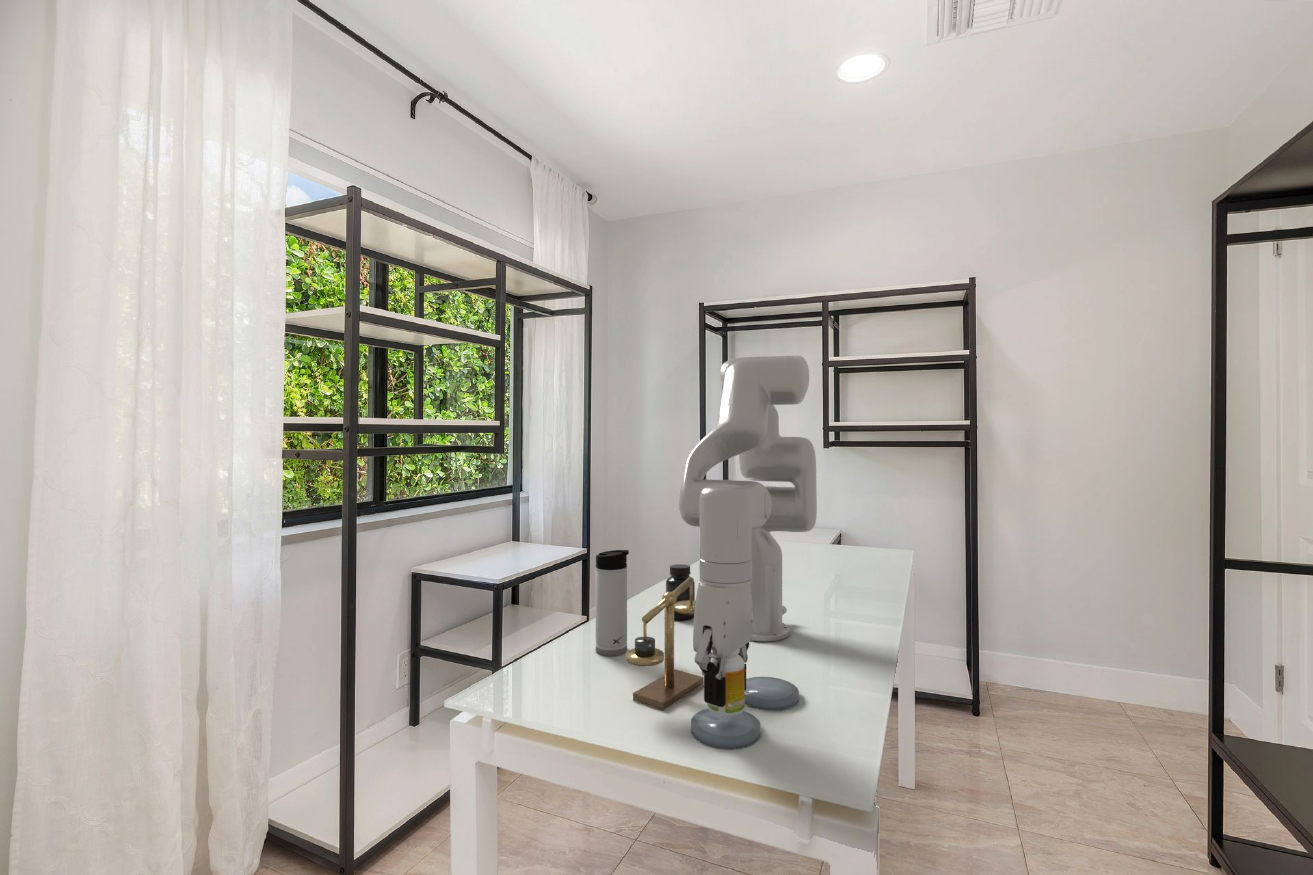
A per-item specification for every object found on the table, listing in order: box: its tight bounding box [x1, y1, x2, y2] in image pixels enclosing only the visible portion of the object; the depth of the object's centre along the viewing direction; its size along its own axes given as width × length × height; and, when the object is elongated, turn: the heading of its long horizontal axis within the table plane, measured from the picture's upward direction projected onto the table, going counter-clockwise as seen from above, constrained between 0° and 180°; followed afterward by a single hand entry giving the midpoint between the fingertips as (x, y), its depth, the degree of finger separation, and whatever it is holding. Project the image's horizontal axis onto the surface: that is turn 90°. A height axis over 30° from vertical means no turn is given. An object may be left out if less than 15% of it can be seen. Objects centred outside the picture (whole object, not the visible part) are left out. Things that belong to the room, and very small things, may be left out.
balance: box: [625, 576, 704, 711], centre depth 99 cm, size 20×6×18 cm, turn 144°
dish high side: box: [745, 676, 800, 711], centre depth 97 cm, size 10×10×1 cm
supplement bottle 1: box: [665, 563, 696, 622], centre depth 140 cm, size 7×7×12 cm
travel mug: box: [595, 549, 630, 657], centre depth 118 cm, size 6×7×20 cm
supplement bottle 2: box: [706, 648, 746, 717], centre depth 86 cm, size 5×5×10 cm
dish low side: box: [690, 708, 762, 750], centre depth 86 cm, size 10×10×1 cm
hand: (725, 694), depth 86 cm, fingers closed on supplement bottle 2, 5 cm apart
